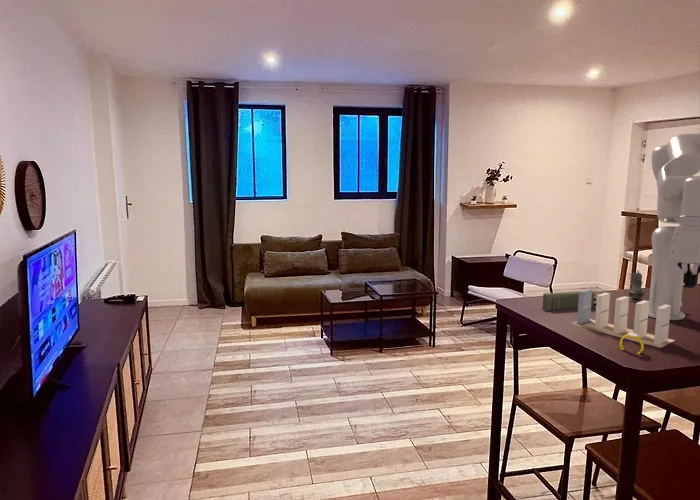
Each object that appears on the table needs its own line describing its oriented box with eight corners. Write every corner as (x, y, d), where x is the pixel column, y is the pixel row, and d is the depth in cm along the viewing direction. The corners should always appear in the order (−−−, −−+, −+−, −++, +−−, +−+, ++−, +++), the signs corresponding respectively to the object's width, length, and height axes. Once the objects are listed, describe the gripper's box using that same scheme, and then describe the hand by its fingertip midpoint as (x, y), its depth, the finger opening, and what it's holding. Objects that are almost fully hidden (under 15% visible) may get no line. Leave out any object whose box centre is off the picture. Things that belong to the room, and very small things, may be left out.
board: (585, 320, 173) (586, 317, 173) (675, 342, 151) (675, 339, 151) (569, 326, 168) (569, 323, 167) (660, 350, 145) (660, 347, 145)
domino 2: (594, 327, 163) (596, 295, 161) (602, 324, 166) (605, 292, 164) (599, 329, 162) (602, 296, 160) (607, 325, 165) (610, 293, 163)
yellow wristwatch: (643, 356, 142) (646, 336, 141) (640, 358, 140) (643, 338, 139) (620, 349, 146) (623, 330, 145) (617, 351, 144) (620, 332, 143)
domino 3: (613, 332, 158) (615, 299, 156) (621, 329, 161) (623, 296, 159) (618, 334, 157) (621, 300, 155) (626, 330, 160) (629, 297, 158)
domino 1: (590, 321, 170) (592, 289, 168) (581, 324, 167) (583, 292, 165) (585, 319, 171) (587, 288, 169) (577, 322, 168) (579, 291, 166)
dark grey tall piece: (646, 302, 192) (649, 272, 190) (630, 302, 194) (632, 272, 192) (641, 298, 198) (643, 269, 196) (625, 298, 199) (627, 268, 197)
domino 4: (632, 337, 153) (635, 303, 152) (640, 334, 156) (643, 300, 155) (638, 339, 152) (641, 304, 150) (646, 335, 155) (649, 301, 153)
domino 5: (653, 343, 149) (656, 307, 147) (661, 339, 152) (664, 304, 150) (659, 344, 147) (663, 308, 145) (667, 340, 150) (671, 305, 148)
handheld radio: (541, 309, 187) (602, 305, 190) (545, 312, 184) (608, 308, 187) (542, 292, 186) (604, 289, 189) (546, 295, 183) (610, 291, 186)
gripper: (660, 221, 142) (655, 284, 145) (722, 225, 130) (715, 294, 133) (672, 219, 146) (666, 280, 149) (733, 223, 134) (726, 290, 137)
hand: (689, 286), depth 141 cm, fingers closed
